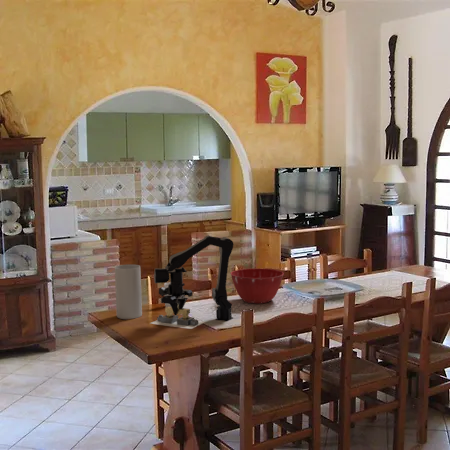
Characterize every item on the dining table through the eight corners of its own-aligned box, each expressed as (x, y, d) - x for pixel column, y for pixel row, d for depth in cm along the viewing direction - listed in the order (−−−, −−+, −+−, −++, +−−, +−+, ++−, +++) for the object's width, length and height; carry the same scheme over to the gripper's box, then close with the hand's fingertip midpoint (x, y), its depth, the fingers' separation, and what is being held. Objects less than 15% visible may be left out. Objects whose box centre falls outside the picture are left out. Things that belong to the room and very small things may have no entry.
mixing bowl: (258, 292, 361) (258, 265, 359) (295, 300, 339) (294, 272, 337) (220, 300, 343) (219, 272, 341) (256, 310, 321) (255, 280, 319)
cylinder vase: (129, 321, 305) (127, 270, 302) (111, 317, 313) (109, 267, 310) (147, 315, 315) (145, 266, 312) (129, 312, 323) (127, 263, 320)
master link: (190, 319, 298) (189, 309, 297) (186, 320, 295) (186, 310, 294) (168, 316, 303) (168, 306, 303) (165, 318, 301) (164, 307, 300)
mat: (205, 322, 300) (205, 321, 299) (191, 329, 288) (191, 328, 288) (165, 317, 310) (165, 316, 310) (149, 324, 299) (149, 323, 299)
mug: (168, 308, 329) (167, 285, 328) (162, 305, 335) (161, 283, 333) (185, 305, 335) (184, 282, 333) (179, 302, 340) (178, 280, 339)
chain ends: (200, 323, 297) (199, 318, 297) (193, 326, 292) (193, 321, 291) (162, 318, 307) (162, 313, 307) (155, 321, 302) (155, 316, 301)
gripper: (173, 276, 309) (174, 308, 311) (150, 284, 293) (152, 317, 295) (192, 278, 304) (193, 310, 306) (171, 286, 287) (172, 319, 289)
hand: (177, 314), depth 299 cm, fingers closed on master link, 3 cm apart
